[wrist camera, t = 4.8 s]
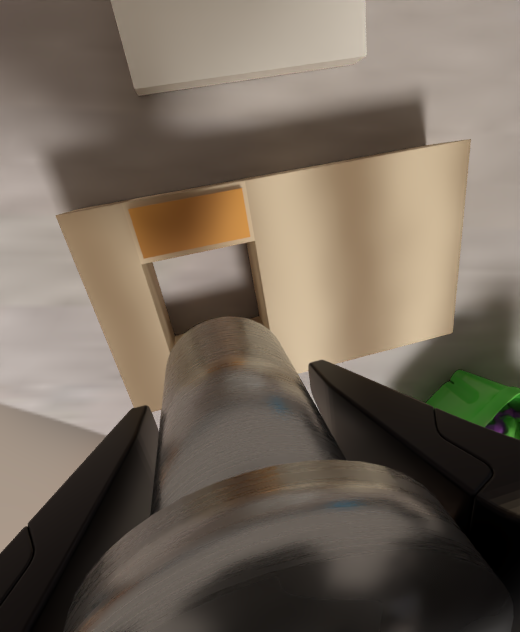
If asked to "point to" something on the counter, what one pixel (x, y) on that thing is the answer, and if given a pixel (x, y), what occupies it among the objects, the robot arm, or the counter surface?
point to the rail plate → (288, 257)
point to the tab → (235, 39)
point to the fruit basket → (480, 402)
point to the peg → (278, 518)
